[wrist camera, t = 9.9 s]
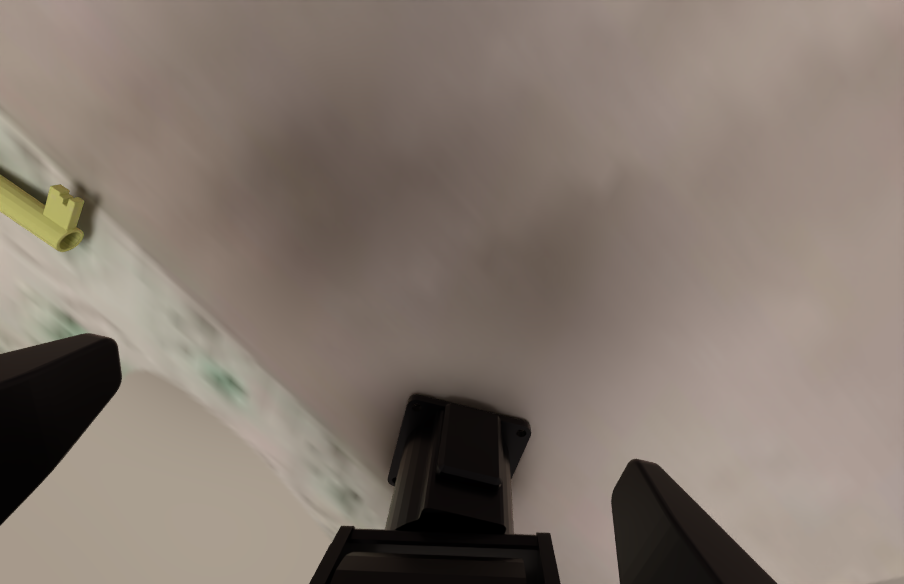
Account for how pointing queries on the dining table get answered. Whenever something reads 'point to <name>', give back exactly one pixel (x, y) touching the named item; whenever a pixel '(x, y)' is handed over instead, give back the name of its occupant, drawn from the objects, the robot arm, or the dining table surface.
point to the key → (44, 214)
